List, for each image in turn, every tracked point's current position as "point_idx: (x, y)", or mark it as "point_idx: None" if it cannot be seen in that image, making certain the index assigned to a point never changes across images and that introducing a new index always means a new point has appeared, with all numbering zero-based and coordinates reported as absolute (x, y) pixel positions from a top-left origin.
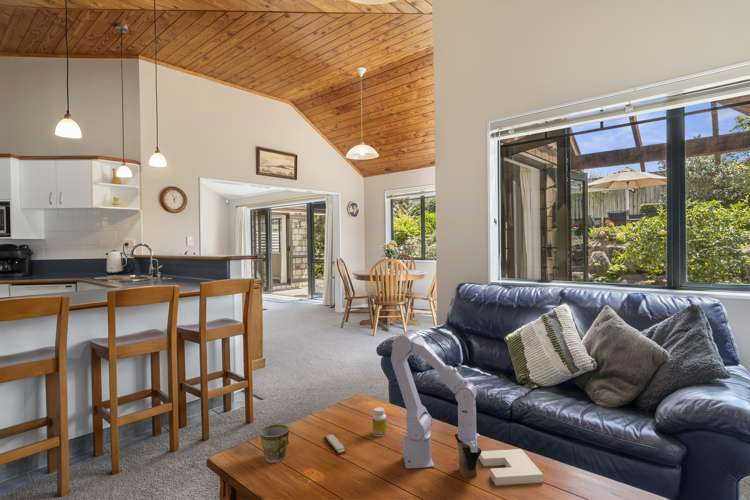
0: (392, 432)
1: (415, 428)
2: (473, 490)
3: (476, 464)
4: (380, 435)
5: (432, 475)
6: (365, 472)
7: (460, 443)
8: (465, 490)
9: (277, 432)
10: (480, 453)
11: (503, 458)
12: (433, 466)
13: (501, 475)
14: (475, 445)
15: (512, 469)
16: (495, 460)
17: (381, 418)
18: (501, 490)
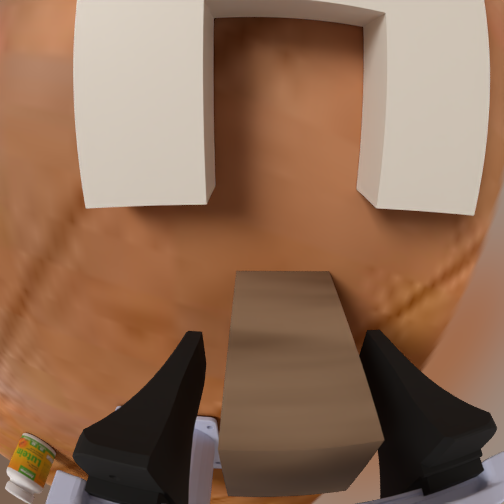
0: (18, 421)
1: None
2: (434, 318)
3: (346, 320)
4: (52, 451)
5: None
6: (234, 499)
7: (254, 494)
8: (418, 347)
9: None
10: (486, 414)
11: (205, 13)
12: (216, 421)
13: (471, 164)
14: (488, 498)
15: (417, 30)
16: (207, 88)
17: (35, 487)
18: (483, 186)
